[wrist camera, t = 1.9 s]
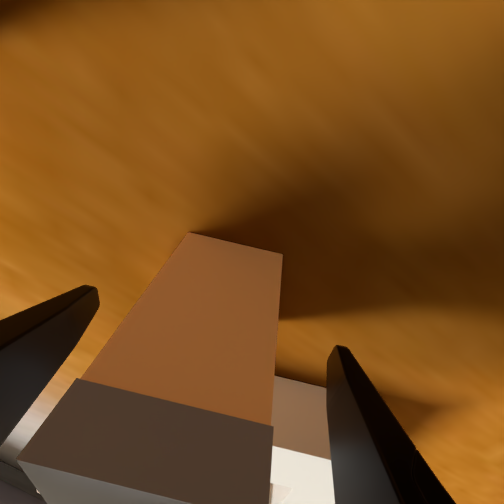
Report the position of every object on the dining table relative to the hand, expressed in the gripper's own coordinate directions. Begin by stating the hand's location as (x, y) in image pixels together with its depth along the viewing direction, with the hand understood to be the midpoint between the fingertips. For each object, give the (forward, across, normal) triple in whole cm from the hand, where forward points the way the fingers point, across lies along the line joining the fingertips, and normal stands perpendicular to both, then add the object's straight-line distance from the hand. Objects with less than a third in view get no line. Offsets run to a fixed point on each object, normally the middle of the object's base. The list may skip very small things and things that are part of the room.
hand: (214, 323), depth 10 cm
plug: (+3, 0, 0) cm, 3 cm away
